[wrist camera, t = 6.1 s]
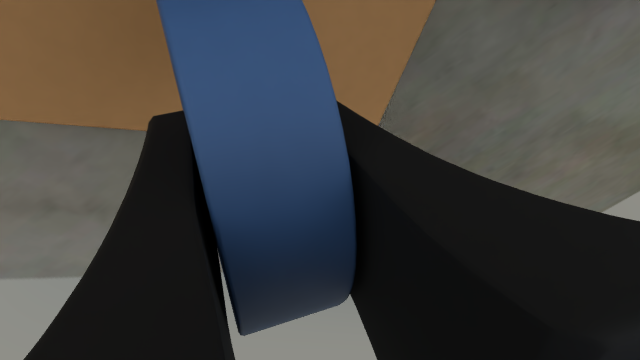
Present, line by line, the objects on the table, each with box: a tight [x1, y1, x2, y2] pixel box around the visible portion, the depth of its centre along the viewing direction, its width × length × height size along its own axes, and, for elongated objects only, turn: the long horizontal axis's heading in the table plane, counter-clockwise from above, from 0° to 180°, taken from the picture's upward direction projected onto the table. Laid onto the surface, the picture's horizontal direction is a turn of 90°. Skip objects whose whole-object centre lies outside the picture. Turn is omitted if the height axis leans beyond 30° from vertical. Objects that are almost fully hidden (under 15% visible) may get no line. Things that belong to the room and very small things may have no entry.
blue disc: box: [156, 0, 357, 336], centre depth 9 cm, size 2×7×7 cm, turn 1°
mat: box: [0, 0, 436, 131], centre depth 16 cm, size 20×11×1 cm, turn 71°
